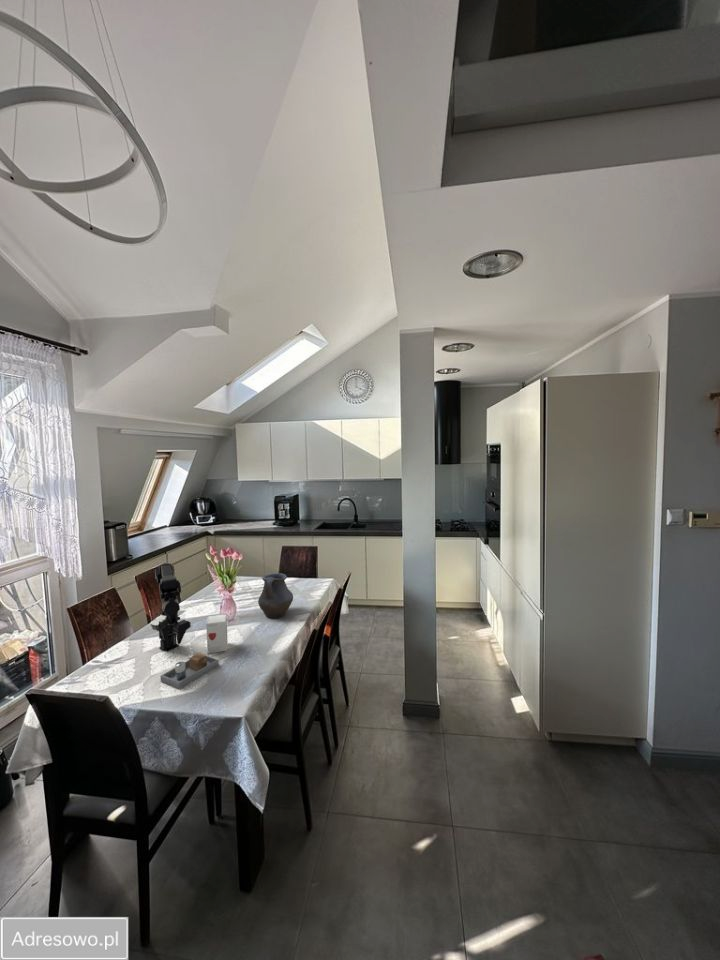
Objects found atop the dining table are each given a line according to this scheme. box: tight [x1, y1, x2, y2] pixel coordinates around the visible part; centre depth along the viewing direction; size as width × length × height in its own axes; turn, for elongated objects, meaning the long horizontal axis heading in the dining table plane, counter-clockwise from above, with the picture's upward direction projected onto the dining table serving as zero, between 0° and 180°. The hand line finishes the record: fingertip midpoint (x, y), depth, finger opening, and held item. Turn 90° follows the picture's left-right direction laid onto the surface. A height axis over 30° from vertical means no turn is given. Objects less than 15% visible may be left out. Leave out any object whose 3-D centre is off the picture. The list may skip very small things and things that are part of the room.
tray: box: [160, 655, 220, 690], centre depth 169 cm, size 20×12×3 cm, turn 152°
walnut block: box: [188, 652, 208, 671], centre depth 172 cm, size 5×5×5 cm
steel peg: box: [174, 661, 186, 680], centre depth 164 cm, size 4×4×6 cm
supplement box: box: [205, 614, 229, 654], centre depth 190 cm, size 9×9×15 cm
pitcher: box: [257, 572, 294, 619], centre depth 228 cm, size 21×22×25 cm
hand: (172, 641), depth 172 cm, fingers open, 9 cm apart
